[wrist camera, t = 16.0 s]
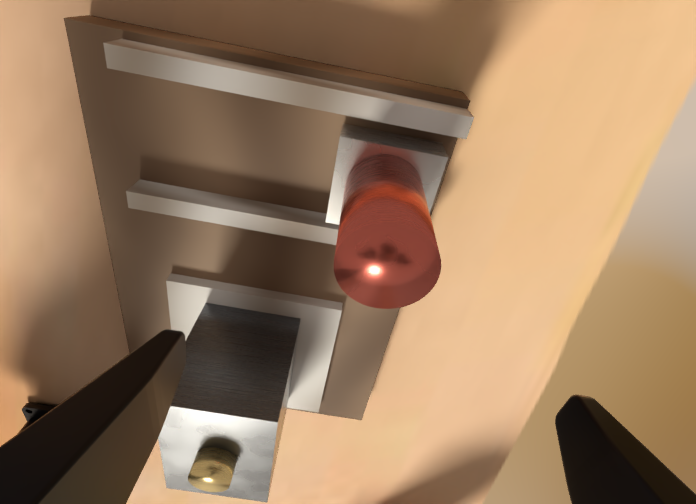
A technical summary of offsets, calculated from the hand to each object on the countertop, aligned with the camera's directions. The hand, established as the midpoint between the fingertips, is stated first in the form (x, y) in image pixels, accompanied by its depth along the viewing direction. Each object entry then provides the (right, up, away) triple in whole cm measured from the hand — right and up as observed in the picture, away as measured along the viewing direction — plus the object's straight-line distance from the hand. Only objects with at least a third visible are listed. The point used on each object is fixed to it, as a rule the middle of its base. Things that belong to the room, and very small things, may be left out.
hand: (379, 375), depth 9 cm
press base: (-5, +2, +13) cm, 14 cm away
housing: (-6, -3, +14) cm, 15 cm away
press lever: (+1, +6, +8) cm, 10 cm away
